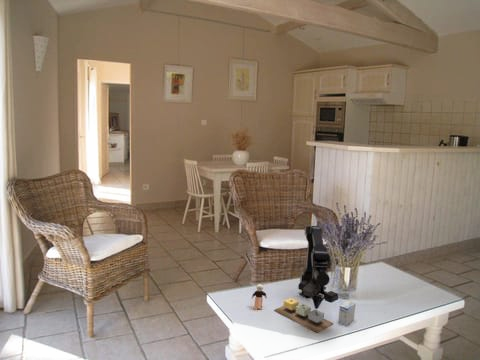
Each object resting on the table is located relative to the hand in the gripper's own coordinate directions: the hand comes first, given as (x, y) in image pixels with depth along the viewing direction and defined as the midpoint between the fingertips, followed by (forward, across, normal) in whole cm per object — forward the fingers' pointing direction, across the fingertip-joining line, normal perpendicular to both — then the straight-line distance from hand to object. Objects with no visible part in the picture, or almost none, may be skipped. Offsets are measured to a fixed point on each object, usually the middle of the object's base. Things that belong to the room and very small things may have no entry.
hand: (316, 308), depth 185 cm
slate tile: (+5, 0, 0) cm, 5 cm away
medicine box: (+8, +8, +13) cm, 17 cm away
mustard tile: (+5, -15, 0) cm, 16 cm away
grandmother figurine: (+8, -27, -10) cm, 30 cm away
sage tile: (+5, -7, 0) cm, 9 cm away
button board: (+7, -7, 0) cm, 10 cm away
